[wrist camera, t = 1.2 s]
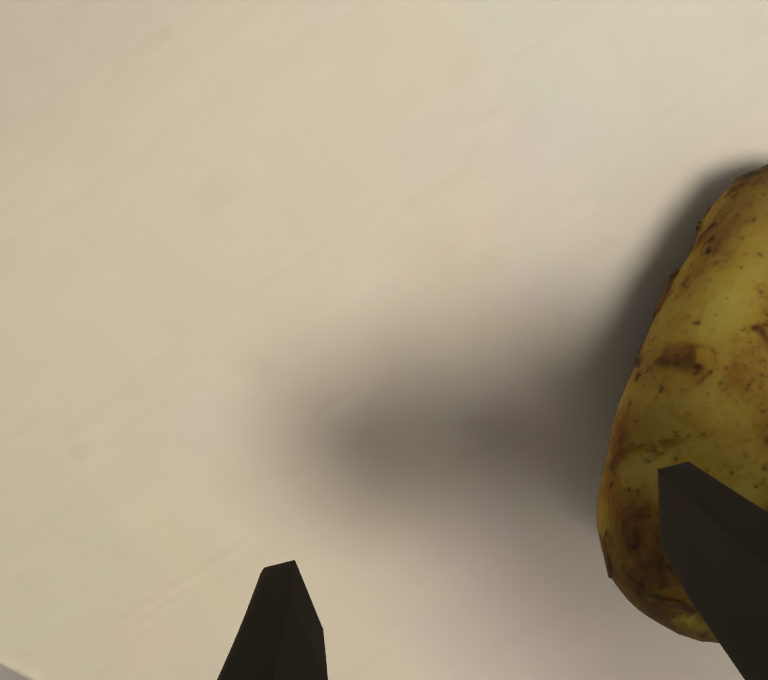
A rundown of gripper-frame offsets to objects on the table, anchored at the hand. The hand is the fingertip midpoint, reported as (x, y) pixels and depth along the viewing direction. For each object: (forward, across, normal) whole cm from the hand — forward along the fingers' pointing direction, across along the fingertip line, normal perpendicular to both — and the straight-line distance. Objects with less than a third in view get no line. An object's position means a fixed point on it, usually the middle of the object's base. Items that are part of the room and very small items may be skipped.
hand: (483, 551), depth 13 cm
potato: (+9, -9, +4) cm, 14 cm away
